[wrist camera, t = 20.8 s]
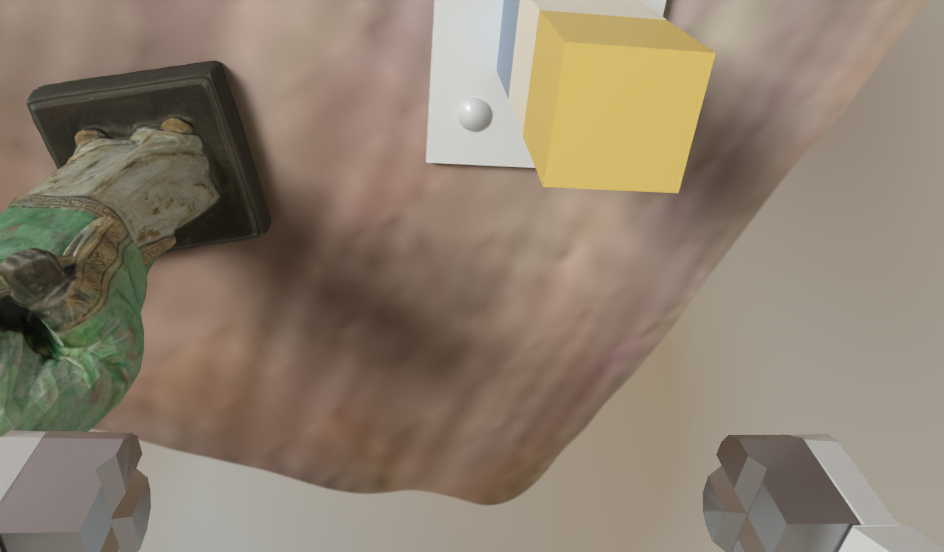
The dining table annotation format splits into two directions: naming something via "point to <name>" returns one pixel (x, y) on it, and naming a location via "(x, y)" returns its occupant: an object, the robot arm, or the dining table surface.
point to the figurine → (112, 231)
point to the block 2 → (601, 3)
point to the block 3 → (613, 101)
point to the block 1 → (507, 42)
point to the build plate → (473, 88)
